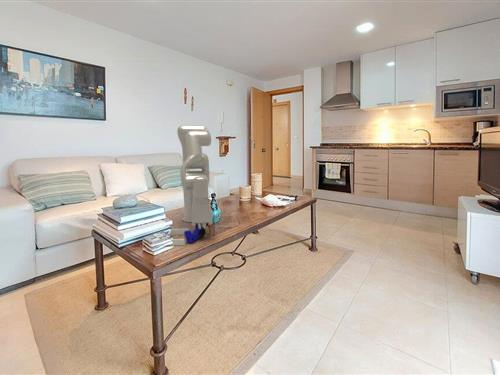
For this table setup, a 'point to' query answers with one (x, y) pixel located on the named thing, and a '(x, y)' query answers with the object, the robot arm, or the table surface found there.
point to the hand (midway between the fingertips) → (202, 235)
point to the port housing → (178, 232)
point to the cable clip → (192, 235)
